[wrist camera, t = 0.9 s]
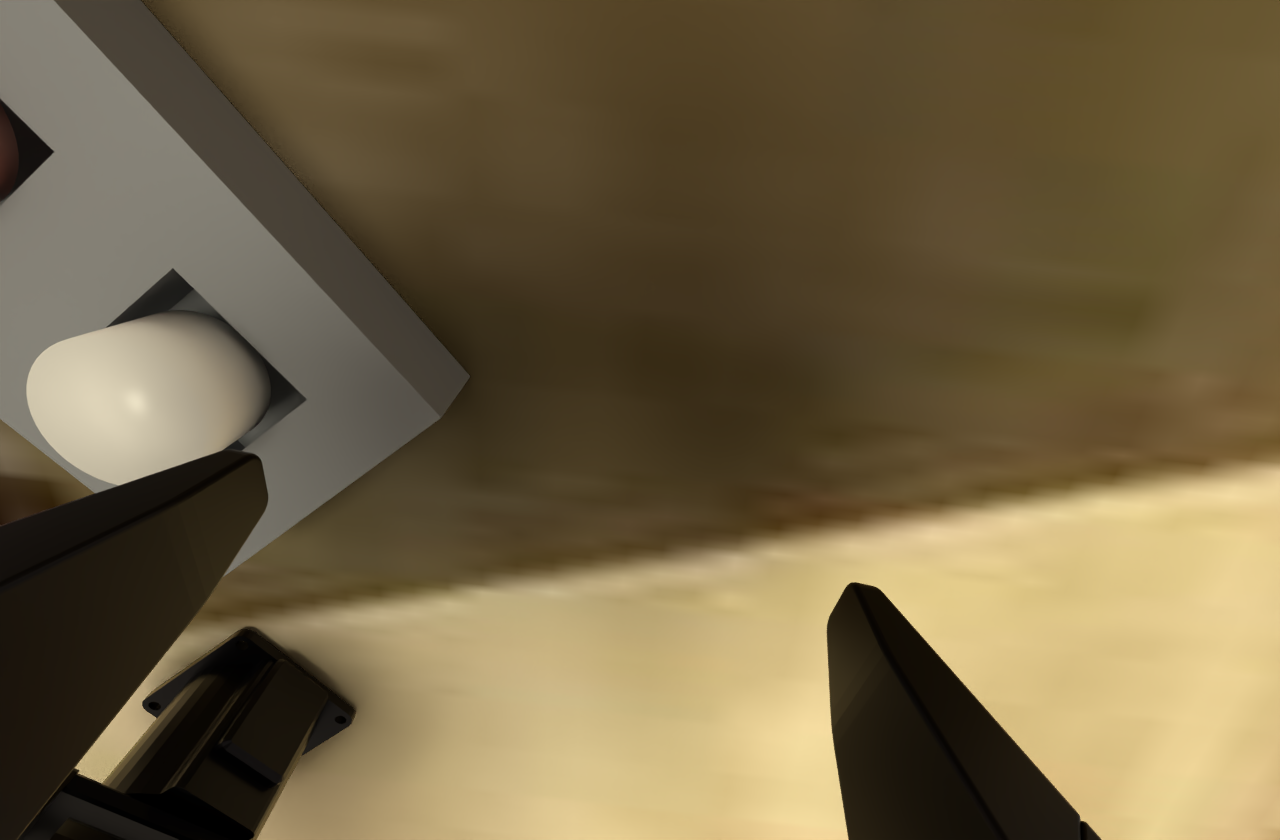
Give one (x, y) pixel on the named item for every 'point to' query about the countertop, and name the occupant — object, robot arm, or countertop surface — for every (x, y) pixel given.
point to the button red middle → (7, 155)
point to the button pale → (147, 394)
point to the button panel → (194, 250)
